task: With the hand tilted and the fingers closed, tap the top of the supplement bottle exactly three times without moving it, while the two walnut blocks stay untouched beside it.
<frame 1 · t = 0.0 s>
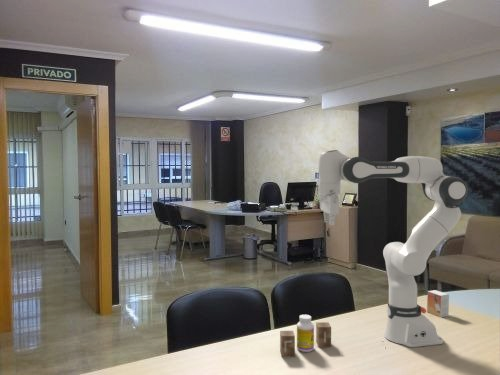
hand: (329, 223, 166), 48 cm above the table, tool pointing down, fingers open, 8 cm apart
walnut block seven: (287, 353, 155), on the table
supplement bottle: (305, 349, 159), on the table
small box: (437, 314, 197), on the table
walnut block one: (323, 344, 163), on the table
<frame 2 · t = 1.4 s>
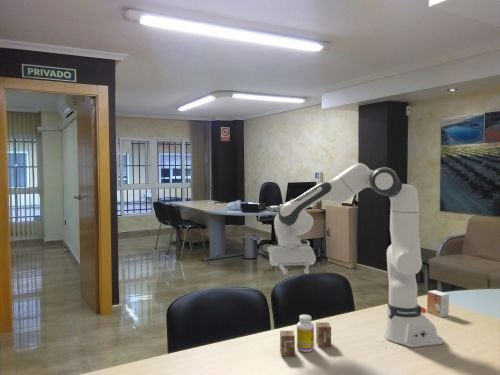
hand: (296, 273, 170), 27 cm above the table, tool tilted 45°, fingers open, 8 cm apart
nothing on the table moved.
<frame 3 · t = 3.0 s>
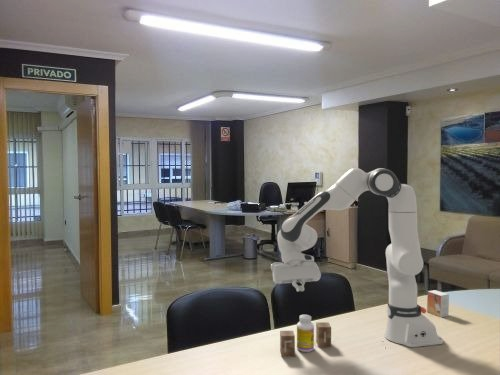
hand: (300, 290, 164), 21 cm above the table, tool tilted 45°, fingers closed
nothing on the table moved.
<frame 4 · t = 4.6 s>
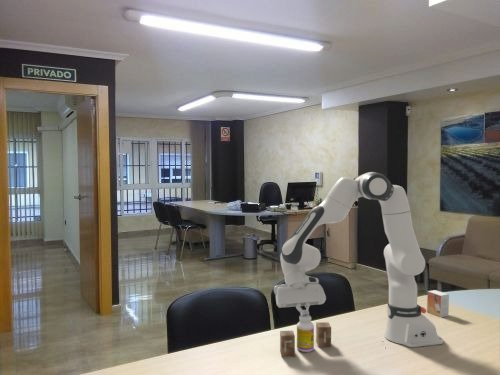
hand: (305, 315, 159), 13 cm above the table, tool tilted 45°, fingers closed, pressing on supplement bottle
supplement bottle: (305, 349, 159), on the table, touching gripper
everything else where it was.
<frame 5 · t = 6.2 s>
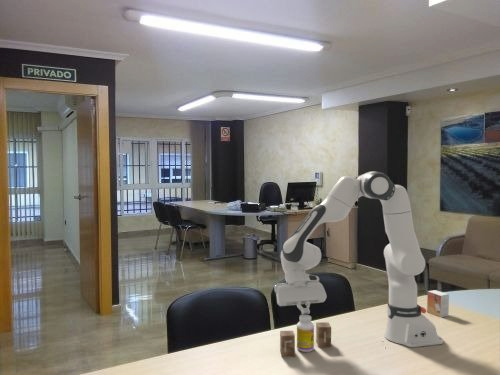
hand: (306, 313, 159), 14 cm above the table, tool tilted 45°, fingers closed
supplement bottle: (305, 349, 159), on the table
everything else where it was.
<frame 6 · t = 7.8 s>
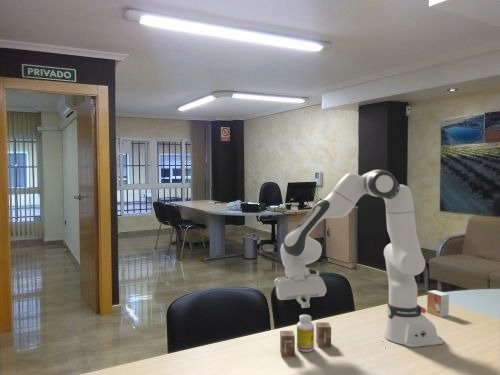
hand: (306, 307, 158), 17 cm above the table, tool tilted 45°, fingers closed
nothing on the table moved.
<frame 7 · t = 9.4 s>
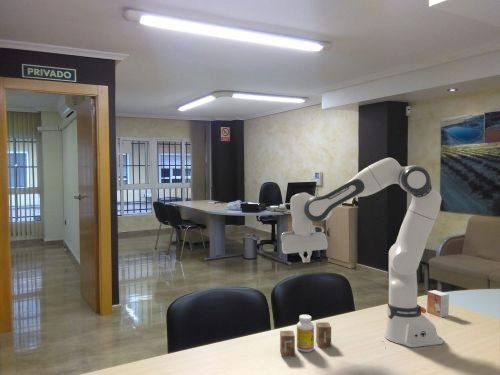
hand: (306, 262, 176), 30 cm above the table, tool pointing down, fingers closed
nothing on the table moved.
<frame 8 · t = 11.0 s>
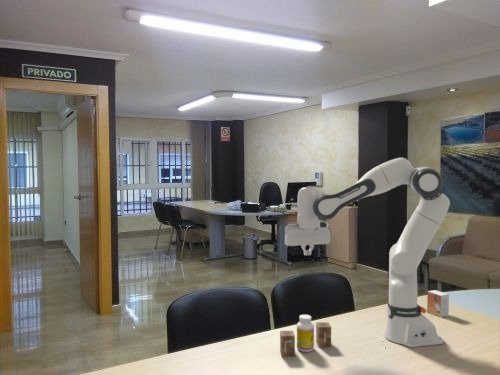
hand: (307, 254, 177), 33 cm above the table, tool pointing down, fingers closed
nothing on the table moved.
at the end: supplement bottle moved 0.2 cm from its start; supplement bottle tilted 0°; walnut block seven moved 0.1 cm from its start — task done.
